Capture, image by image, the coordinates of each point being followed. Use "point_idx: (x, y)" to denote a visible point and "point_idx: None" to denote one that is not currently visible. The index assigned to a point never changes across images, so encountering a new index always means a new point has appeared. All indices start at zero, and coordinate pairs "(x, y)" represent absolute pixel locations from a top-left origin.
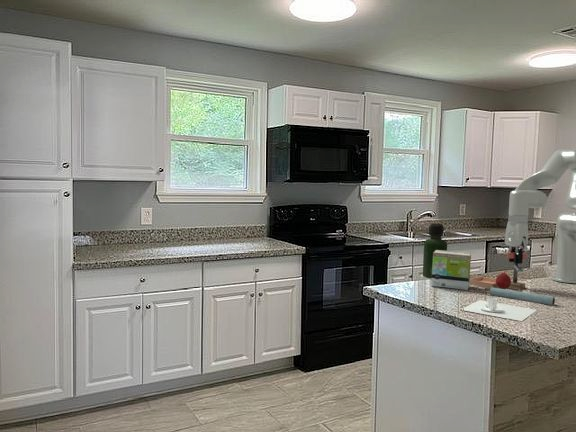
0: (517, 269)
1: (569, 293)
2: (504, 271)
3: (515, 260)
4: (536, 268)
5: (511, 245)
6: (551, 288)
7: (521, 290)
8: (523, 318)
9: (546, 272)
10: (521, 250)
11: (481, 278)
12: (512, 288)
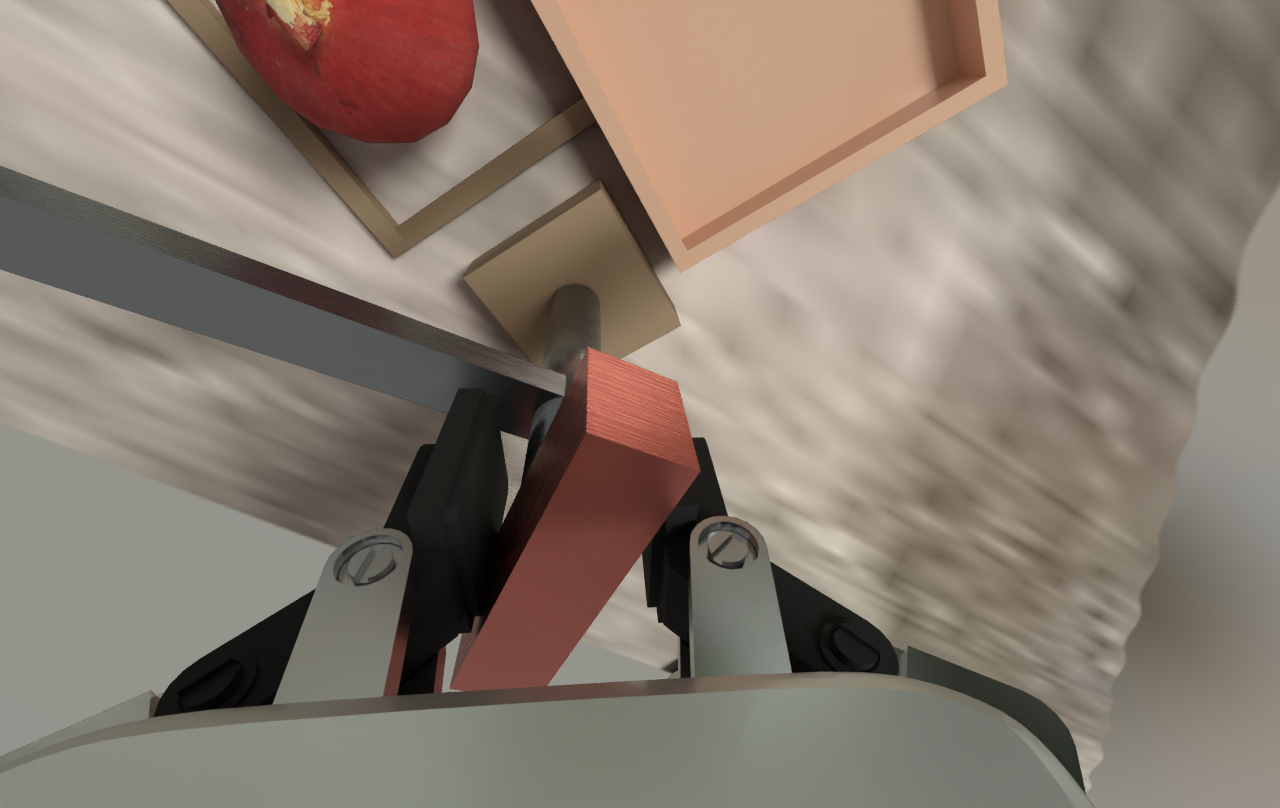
0: (108, 215)
1: None
2: (277, 13)
3: (448, 417)
4: (1090, 711)
5: (444, 705)
6: None
7: (389, 248)
8: None
9: None
10: (184, 678)
11: (971, 75)
12: (460, 193)
